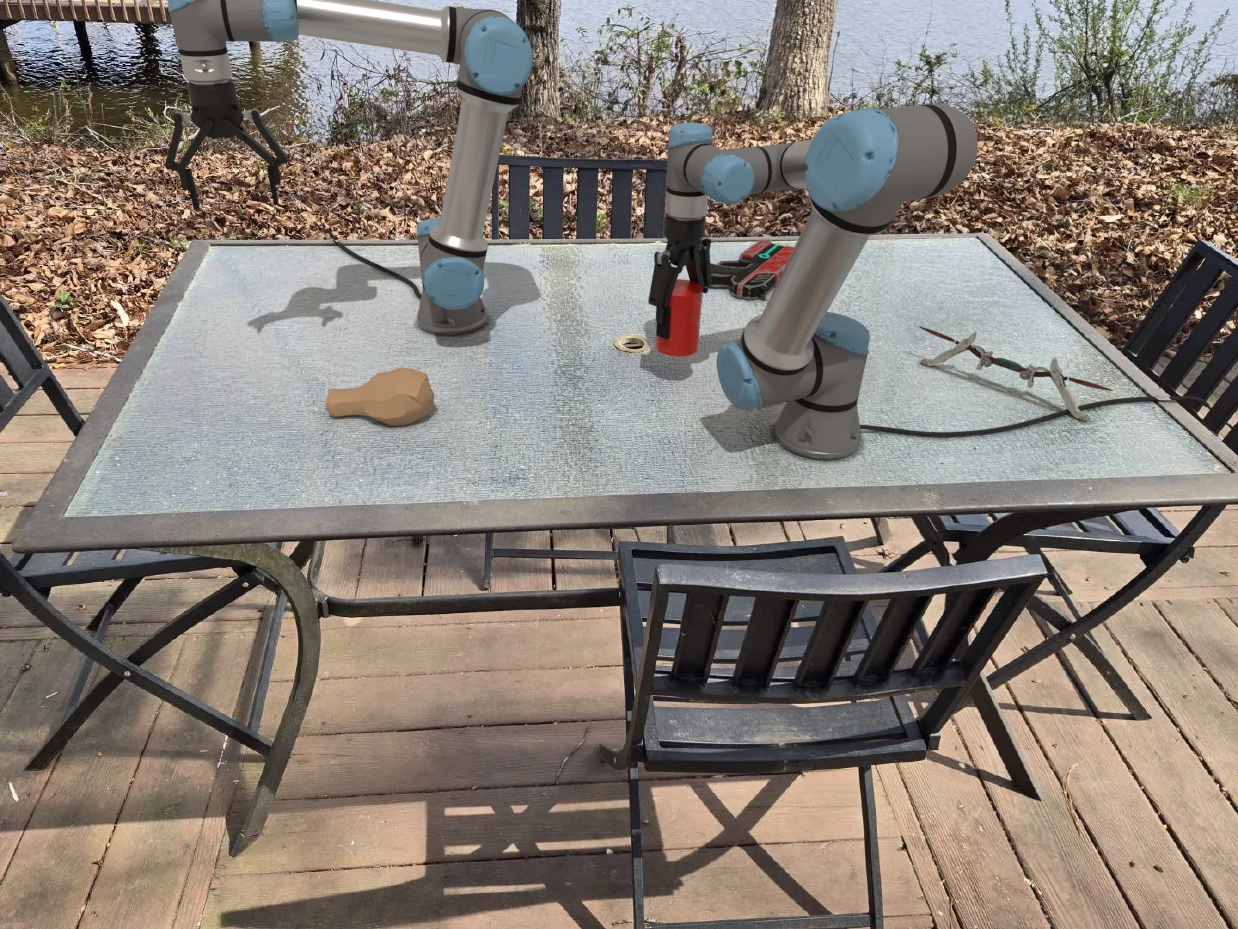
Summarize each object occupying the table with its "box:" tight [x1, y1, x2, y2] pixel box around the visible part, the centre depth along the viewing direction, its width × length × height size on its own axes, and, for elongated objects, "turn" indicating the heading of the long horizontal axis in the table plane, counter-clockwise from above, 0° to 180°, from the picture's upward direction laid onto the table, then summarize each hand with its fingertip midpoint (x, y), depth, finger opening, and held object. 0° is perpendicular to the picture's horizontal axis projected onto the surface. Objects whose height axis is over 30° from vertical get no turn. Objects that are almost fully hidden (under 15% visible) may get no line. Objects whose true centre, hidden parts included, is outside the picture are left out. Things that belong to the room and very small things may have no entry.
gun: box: [703, 239, 795, 301], centre depth 223 cm, size 4×31×19 cm
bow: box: [918, 325, 1114, 422], centre depth 173 cm, size 39×2×10 cm, turn 47°
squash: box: [325, 366, 435, 427], centre depth 160 cm, size 11×20×9 cm, turn 90°
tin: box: [655, 278, 704, 358], centre depth 169 cm, size 8×8×12 cm
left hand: (237, 205), depth 160 cm, fingers open, 13 cm apart
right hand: (678, 329), depth 171 cm, fingers closed on tin, 8 cm apart
